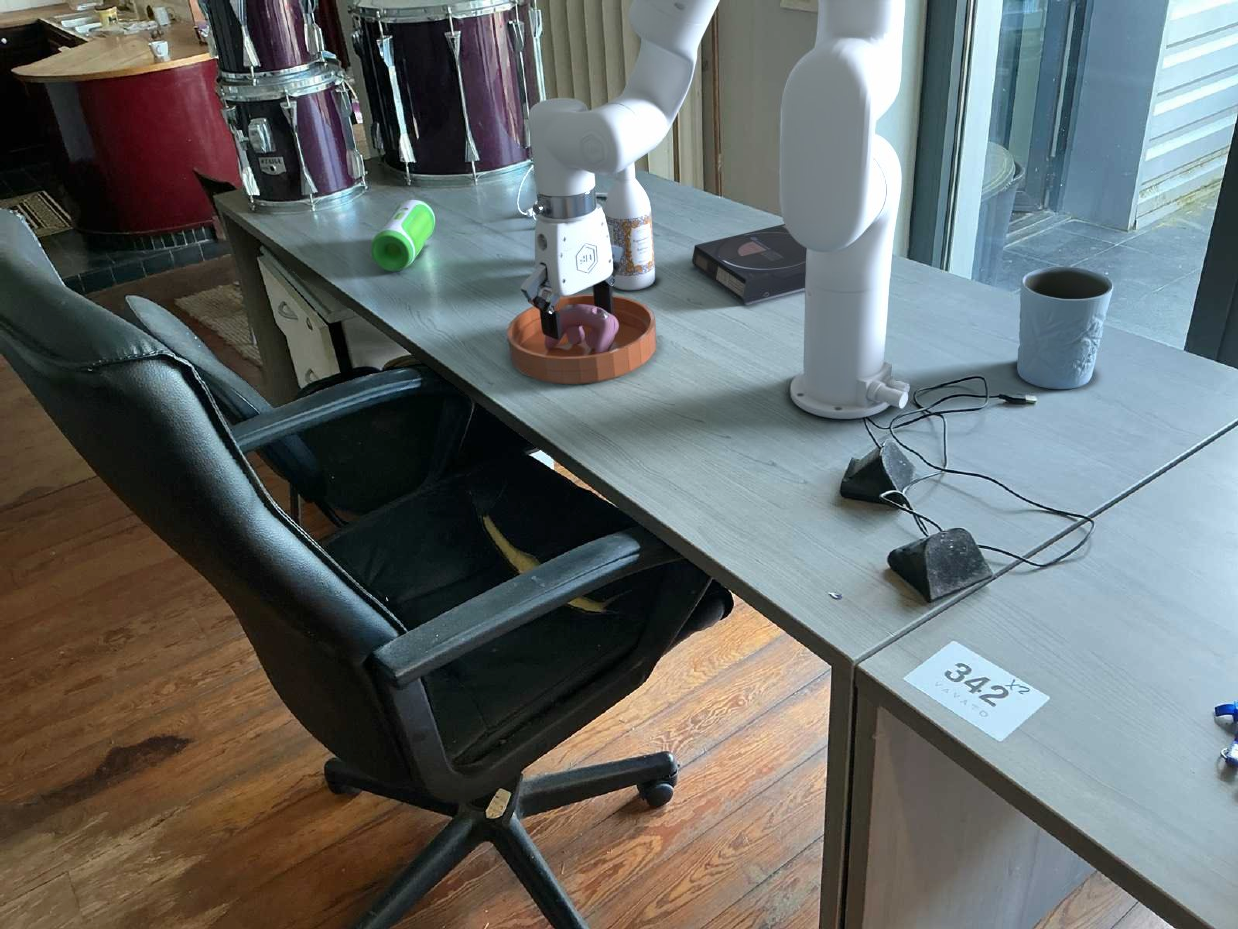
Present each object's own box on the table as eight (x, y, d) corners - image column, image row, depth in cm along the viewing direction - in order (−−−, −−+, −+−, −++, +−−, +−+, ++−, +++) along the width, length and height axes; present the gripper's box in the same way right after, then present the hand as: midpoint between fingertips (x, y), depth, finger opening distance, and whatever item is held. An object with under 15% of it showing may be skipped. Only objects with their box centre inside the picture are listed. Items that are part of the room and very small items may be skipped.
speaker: (402, 237, 188) (393, 196, 184) (441, 235, 187) (433, 195, 183) (373, 275, 173) (364, 232, 169) (416, 274, 172) (407, 230, 168)
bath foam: (627, 295, 158) (616, 165, 147) (602, 282, 163) (590, 155, 153) (664, 282, 161) (656, 154, 150) (638, 270, 166) (629, 144, 155)
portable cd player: (692, 269, 165) (691, 245, 163) (785, 247, 170) (785, 223, 168) (742, 306, 152) (742, 280, 150) (842, 280, 157) (843, 255, 155)
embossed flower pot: (1086, 398, 123) (1104, 305, 116) (999, 382, 127) (1011, 291, 121) (1103, 362, 130) (1120, 271, 123) (1019, 348, 134) (1032, 260, 128)
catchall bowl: (686, 343, 143) (685, 317, 141) (580, 401, 132) (576, 373, 129) (586, 307, 156) (584, 283, 153) (481, 357, 144) (476, 331, 142)
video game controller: (617, 362, 142) (625, 311, 141) (599, 361, 138) (608, 309, 137) (558, 349, 147) (566, 300, 146) (539, 348, 143) (547, 297, 142)
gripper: (535, 227, 125) (549, 354, 134) (635, 188, 135) (642, 309, 144) (495, 215, 130) (512, 338, 139) (595, 178, 139) (604, 295, 149)
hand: (578, 323), depth 142 cm, fingers open, 9 cm apart
